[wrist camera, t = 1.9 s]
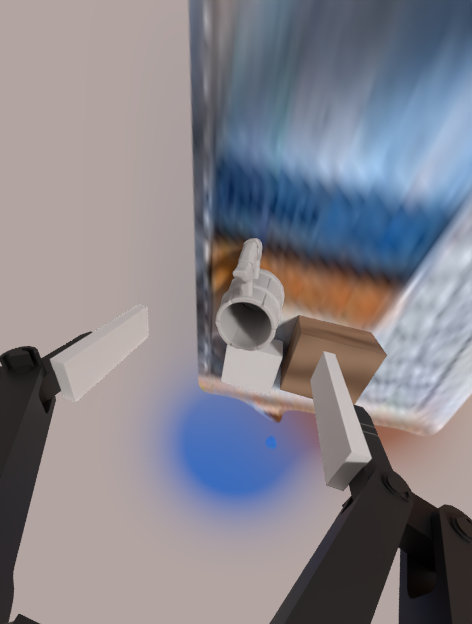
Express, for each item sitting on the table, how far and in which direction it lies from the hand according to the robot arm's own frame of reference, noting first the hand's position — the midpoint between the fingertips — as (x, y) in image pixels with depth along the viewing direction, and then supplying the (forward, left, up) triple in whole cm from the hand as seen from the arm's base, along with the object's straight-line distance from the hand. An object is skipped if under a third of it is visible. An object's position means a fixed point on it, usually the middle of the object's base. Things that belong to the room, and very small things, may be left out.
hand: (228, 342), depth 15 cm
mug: (0, 0, -16) cm, 16 cm away
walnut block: (+9, +12, -15) cm, 21 cm away
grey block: (+13, +2, -15) cm, 20 cm away
